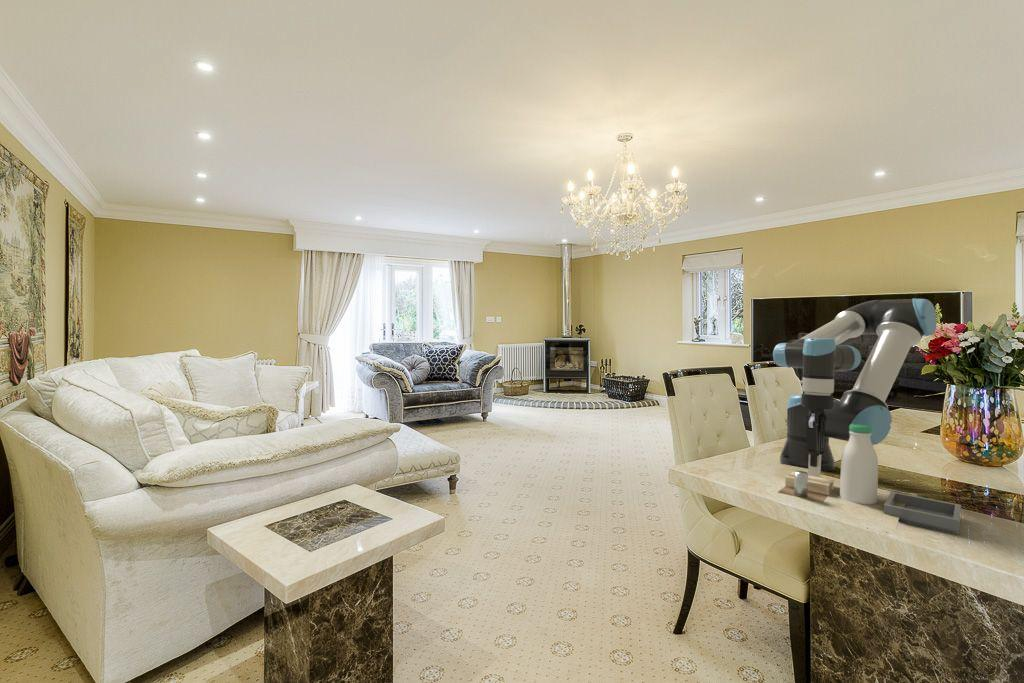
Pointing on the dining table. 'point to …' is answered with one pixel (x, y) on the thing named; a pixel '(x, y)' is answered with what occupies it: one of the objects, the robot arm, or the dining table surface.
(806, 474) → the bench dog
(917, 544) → the dining table surface
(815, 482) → the light wooden block
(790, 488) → the board
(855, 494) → the milk bottle
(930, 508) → the tray
